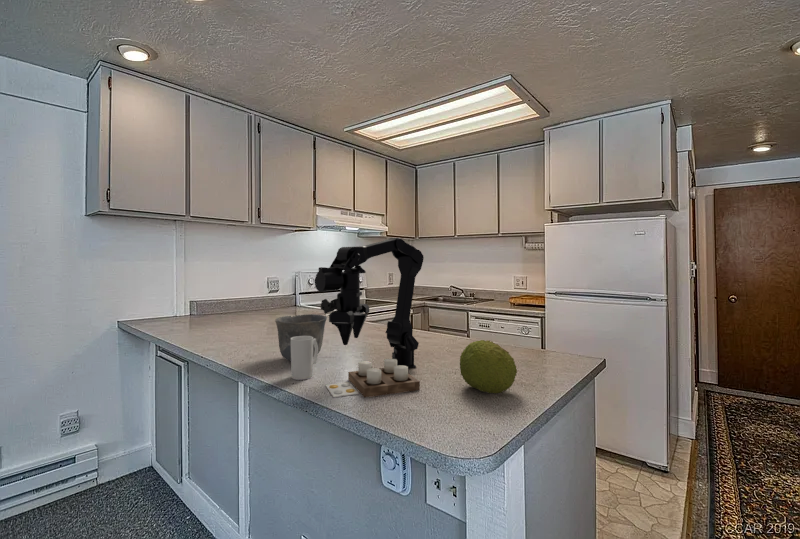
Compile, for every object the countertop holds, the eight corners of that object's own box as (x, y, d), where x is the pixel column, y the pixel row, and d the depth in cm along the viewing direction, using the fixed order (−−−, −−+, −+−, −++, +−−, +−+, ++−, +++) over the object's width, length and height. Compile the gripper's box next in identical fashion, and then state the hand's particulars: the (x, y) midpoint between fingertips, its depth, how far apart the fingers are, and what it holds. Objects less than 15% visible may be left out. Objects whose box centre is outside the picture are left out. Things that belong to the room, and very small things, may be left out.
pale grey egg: (394, 368, 121) (394, 358, 121) (399, 371, 117) (399, 361, 117) (382, 369, 120) (382, 359, 119) (386, 373, 116) (386, 362, 116)
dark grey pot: (289, 352, 151) (288, 313, 150) (333, 354, 148) (333, 314, 148) (267, 365, 133) (266, 321, 132) (317, 367, 131) (317, 322, 130)
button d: (378, 378, 111) (378, 367, 111) (383, 383, 107) (383, 371, 107) (364, 380, 109) (364, 369, 109) (369, 384, 105) (369, 373, 105)
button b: (404, 375, 114) (404, 364, 114) (410, 379, 110) (410, 368, 110) (391, 377, 112) (391, 366, 112) (396, 381, 108) (397, 369, 108)
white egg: (369, 371, 118) (369, 360, 118) (373, 374, 114) (373, 364, 114) (356, 372, 116) (356, 361, 116) (360, 376, 113) (360, 365, 113)
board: (397, 373, 124) (397, 366, 124) (419, 389, 109) (419, 381, 109) (348, 379, 118) (348, 371, 118) (364, 397, 103) (364, 388, 103)
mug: (301, 381, 116) (301, 341, 115) (286, 377, 119) (285, 338, 119) (325, 373, 124) (325, 335, 124) (310, 369, 128) (310, 333, 127)
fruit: (526, 388, 110) (529, 348, 103) (492, 417, 103) (492, 376, 96) (482, 359, 122) (482, 320, 114) (449, 383, 115) (446, 344, 107)
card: (349, 383, 115) (349, 381, 115) (359, 394, 105) (359, 392, 105) (325, 386, 112) (325, 384, 112) (333, 397, 103) (333, 395, 103)
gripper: (336, 286, 127) (337, 333, 128) (310, 292, 109) (312, 347, 110) (369, 286, 125) (370, 335, 126) (348, 292, 107) (349, 349, 107)
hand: (350, 341), depth 117 cm, fingers open, 9 cm apart
